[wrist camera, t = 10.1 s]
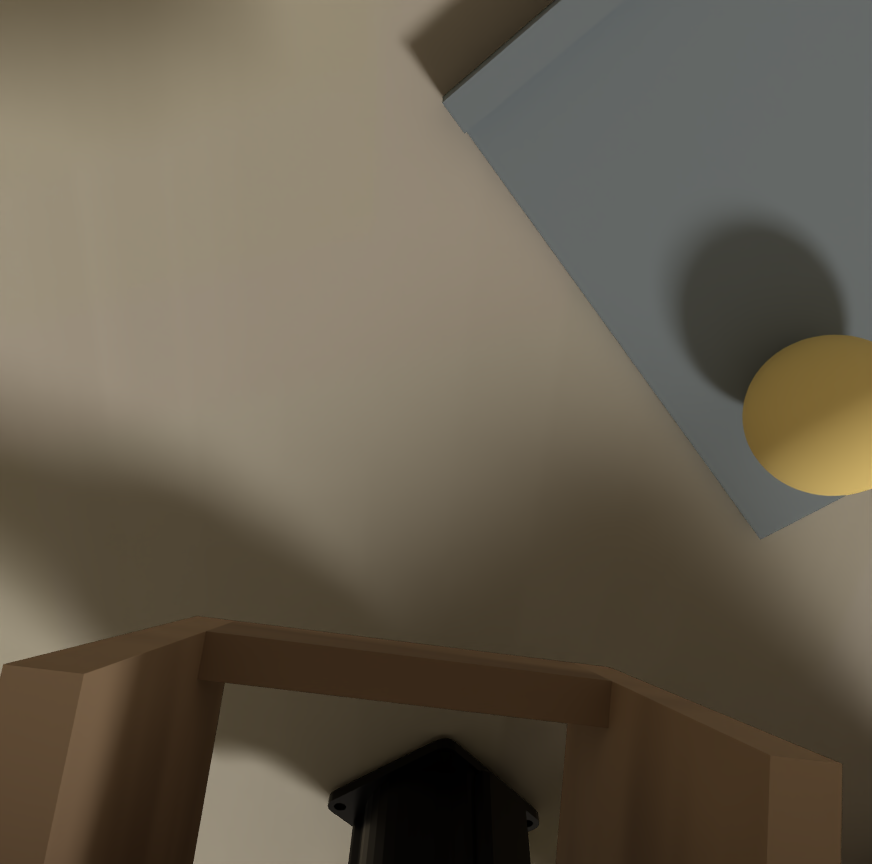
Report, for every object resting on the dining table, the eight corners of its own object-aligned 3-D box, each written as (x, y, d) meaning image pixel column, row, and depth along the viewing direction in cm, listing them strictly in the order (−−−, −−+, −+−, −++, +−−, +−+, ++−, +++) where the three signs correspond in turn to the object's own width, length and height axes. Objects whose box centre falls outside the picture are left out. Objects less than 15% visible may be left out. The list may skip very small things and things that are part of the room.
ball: (808, 286, 19) (775, 403, 22) (726, 358, 17) (701, 477, 20) (981, 342, 17) (920, 466, 19) (908, 432, 15) (851, 555, 17)
